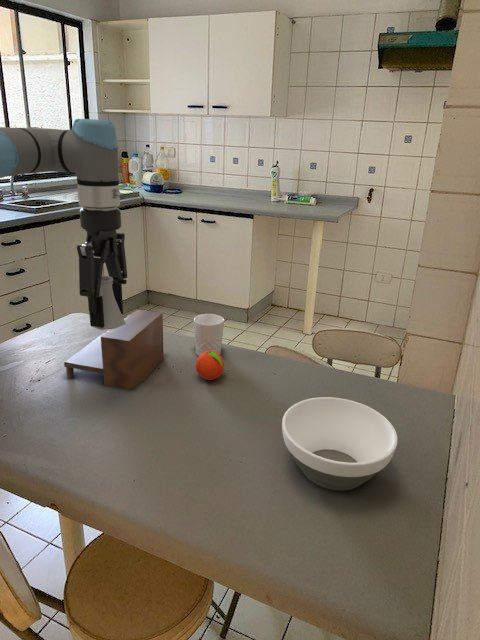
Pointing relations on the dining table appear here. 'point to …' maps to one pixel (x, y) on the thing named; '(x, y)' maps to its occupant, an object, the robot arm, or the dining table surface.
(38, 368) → the dining table surface
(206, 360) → the clementine
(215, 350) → the white cup
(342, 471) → the bowl
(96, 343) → the shelf
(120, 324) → the flask
